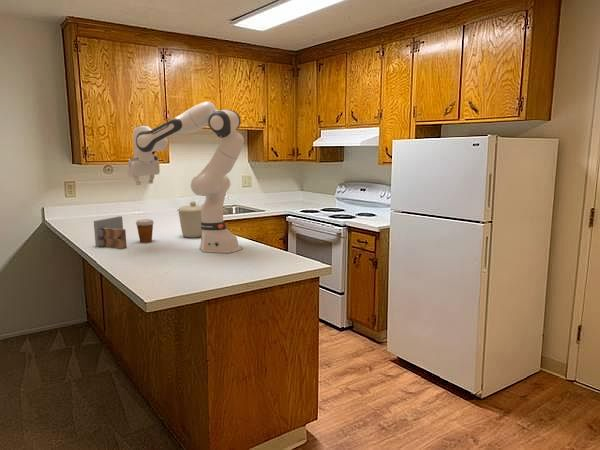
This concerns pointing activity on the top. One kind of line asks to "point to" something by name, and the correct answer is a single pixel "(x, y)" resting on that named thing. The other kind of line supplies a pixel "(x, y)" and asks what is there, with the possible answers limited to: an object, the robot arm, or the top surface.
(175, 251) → the top surface
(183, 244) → the top surface
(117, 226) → the cabinet side
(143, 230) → the disposable coffee cup
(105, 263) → the top surface
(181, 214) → the canister
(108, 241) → the walnut door
